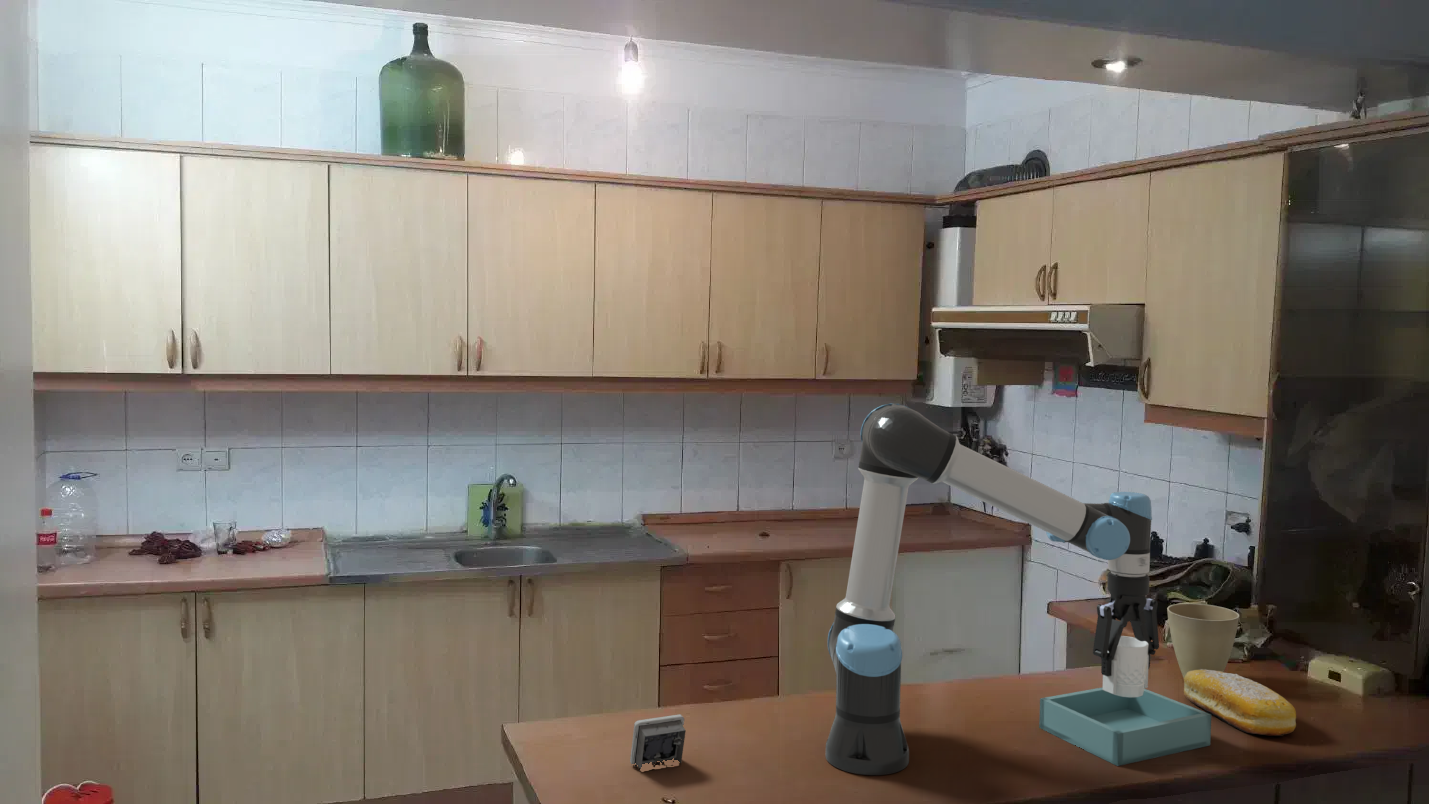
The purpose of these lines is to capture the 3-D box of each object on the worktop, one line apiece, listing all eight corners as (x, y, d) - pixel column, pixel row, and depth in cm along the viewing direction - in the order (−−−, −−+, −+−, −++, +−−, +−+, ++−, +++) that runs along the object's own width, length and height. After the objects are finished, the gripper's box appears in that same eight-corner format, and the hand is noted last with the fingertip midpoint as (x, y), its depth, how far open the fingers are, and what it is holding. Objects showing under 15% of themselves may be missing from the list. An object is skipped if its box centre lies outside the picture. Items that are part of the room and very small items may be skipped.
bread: (1251, 743, 197) (1253, 703, 197) (1166, 696, 223) (1168, 661, 223) (1312, 739, 200) (1314, 699, 200) (1221, 693, 226) (1223, 658, 225)
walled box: (1117, 766, 186) (1118, 733, 185) (1039, 728, 204) (1040, 698, 203) (1210, 745, 196) (1211, 714, 196) (1127, 710, 214) (1128, 682, 214)
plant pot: (1183, 665, 245) (1186, 599, 244) (1248, 681, 233) (1251, 612, 232) (1152, 678, 235) (1154, 609, 234) (1218, 695, 224) (1221, 623, 223)
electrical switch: (677, 757, 188) (679, 709, 186) (688, 771, 183) (690, 722, 182) (629, 765, 184) (630, 716, 183) (638, 779, 179) (640, 729, 178)
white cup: (1156, 696, 197) (1157, 645, 197) (1124, 701, 194) (1125, 649, 194) (1125, 683, 204) (1127, 634, 204) (1094, 688, 202) (1095, 638, 201)
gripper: (1103, 581, 190) (1100, 702, 192) (1182, 571, 199) (1178, 687, 200) (1074, 573, 197) (1071, 690, 198) (1151, 564, 206) (1148, 675, 207)
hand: (1125, 688), depth 199 cm, fingers closed on white cup, 8 cm apart
